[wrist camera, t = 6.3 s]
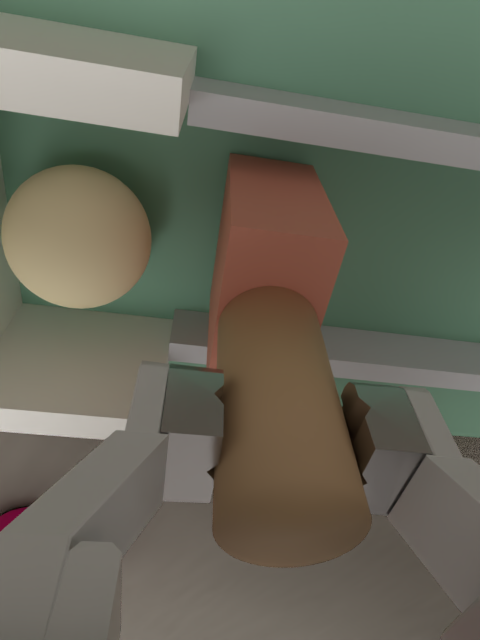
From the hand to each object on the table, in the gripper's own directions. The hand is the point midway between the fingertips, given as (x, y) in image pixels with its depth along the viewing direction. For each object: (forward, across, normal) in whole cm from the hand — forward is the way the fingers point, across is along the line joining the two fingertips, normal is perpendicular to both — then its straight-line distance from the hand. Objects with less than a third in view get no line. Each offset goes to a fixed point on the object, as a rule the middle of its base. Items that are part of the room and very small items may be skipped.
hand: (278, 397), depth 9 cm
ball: (+6, -5, 0) cm, 8 cm away
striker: (+7, 0, 0) cm, 7 cm away
